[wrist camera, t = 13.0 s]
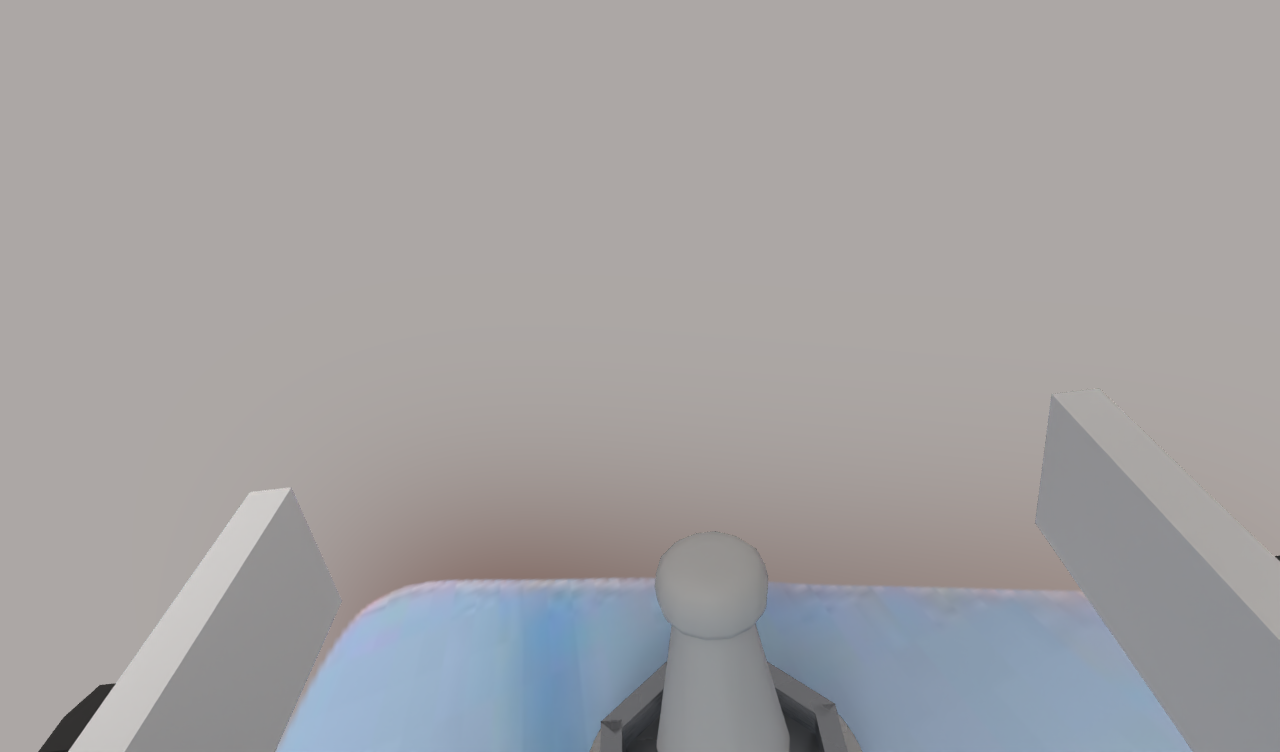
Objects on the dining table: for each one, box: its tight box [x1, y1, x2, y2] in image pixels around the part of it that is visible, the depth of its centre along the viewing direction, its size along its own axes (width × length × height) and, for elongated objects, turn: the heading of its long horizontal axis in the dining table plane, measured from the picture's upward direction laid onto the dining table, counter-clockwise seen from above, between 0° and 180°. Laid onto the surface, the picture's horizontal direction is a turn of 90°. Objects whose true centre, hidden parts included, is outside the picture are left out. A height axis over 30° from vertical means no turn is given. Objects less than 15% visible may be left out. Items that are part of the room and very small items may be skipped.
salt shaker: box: [655, 531, 790, 752], centre depth 33 cm, size 6×6×13 cm
